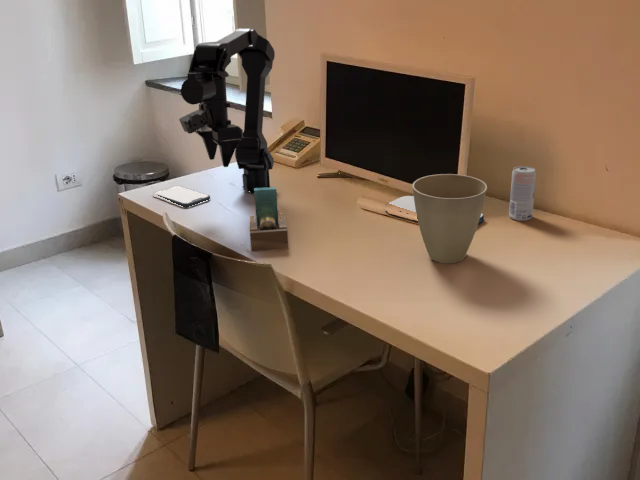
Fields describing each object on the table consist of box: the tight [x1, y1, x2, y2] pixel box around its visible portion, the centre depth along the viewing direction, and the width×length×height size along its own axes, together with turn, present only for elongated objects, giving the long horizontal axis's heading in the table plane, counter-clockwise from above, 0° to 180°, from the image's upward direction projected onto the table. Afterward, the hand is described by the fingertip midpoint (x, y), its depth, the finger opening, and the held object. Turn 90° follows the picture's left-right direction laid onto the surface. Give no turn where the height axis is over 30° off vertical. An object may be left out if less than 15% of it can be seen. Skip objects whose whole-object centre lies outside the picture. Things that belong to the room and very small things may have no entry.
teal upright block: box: [253, 186, 279, 231], centre depth 159 cm, size 8×5×9 cm, turn 6°
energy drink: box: [508, 165, 537, 222], centre depth 161 cm, size 5×5×12 cm
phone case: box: [155, 185, 211, 207], centre depth 185 cm, size 9×2×16 cm
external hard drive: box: [388, 195, 485, 226], centre depth 166 cm, size 24×12×2 cm, turn 49°
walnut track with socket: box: [249, 213, 289, 252], centre depth 158 cm, size 17×8×4 cm, turn 6°
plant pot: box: [412, 173, 488, 264], centre depth 141 cm, size 15×15×16 cm
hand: (218, 163), depth 166 cm, fingers open, 9 cm apart
